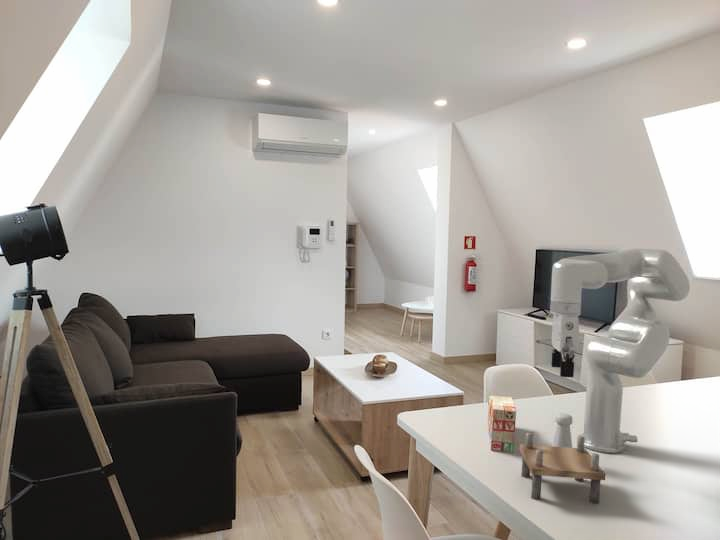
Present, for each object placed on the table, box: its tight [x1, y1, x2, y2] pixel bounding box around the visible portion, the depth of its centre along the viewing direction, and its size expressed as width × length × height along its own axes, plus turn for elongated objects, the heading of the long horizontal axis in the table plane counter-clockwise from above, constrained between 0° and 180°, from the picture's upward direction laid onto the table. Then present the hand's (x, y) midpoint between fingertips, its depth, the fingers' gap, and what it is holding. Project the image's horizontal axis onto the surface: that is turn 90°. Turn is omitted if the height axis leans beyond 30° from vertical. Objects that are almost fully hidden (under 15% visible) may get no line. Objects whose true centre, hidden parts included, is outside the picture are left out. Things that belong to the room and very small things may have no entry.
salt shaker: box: [551, 412, 573, 448], centre depth 143 cm, size 6×6×13 cm
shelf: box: [519, 432, 607, 505], centre depth 127 cm, size 16×14×11 cm
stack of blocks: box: [487, 395, 517, 454], centre depth 158 cm, size 21×6×12 cm, turn 169°
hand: (562, 371), depth 142 cm, fingers open, 9 cm apart
